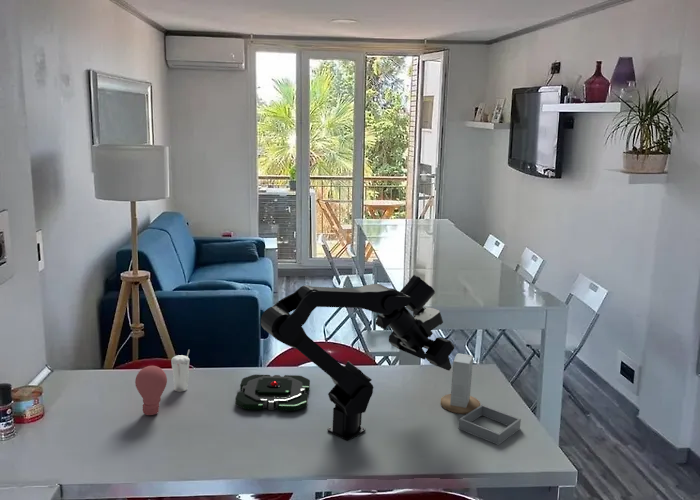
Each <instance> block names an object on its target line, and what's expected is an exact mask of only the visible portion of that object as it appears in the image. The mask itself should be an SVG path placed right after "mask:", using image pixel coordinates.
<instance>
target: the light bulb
mask: <svg viewBox="0 0 700 500" xmlns="http://www.w3.org/2000/svg"><path fill="white" fill-rule="evenodd" d="M134 383H135V388H136V389H137V391H138V393H139V395H140V396H141V397H142V413H143V414H144V415H146V416H152V415H153V416H154V415H157V414H158V413H159V411H160V410H159V409H160V402H161V399H162V398H161V397H162V395H163V393H164V391H165V389H166V387H167V384H168V378H167V374H166V372H165V371H164V370H163V369H162V367H159V366H156V365H148V366H145V367H143V368H142V369H140V370H139V371H138V373H137V375H136V377H135V381H134Z"/></svg>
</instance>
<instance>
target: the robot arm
mask: <svg viewBox="0 0 700 500" xmlns="http://www.w3.org/2000/svg"><path fill="white" fill-rule="evenodd" d="M435 294H436V291H435V289H434V288H433V286H431V285H429V284H428V283H427V282H425V281H424V280H422V278H420V276H419V275H416V274H413V275H412V276H411V277H410V278H409V280H408V282H406V284H405V285H404V287H402V289H401V290H400V291H399V290H397V289H395V288H390V287H386V286H384V285H383V284H380V283H370V284H365V285H363V286H360V287H357V288H356V287H353V288H352V287H331V286H330V287H329V286H311V285H308V284H307V285H302V286H299V288H297V289H296V291H294V292H293V293H291V294H288V295H286V296H285V297H284V298H281V299H280V300H278V301H277V302H276V303H275V304H274V305H272V306H270V307H267V309H265V310H264V311H263V313H262V315H261V318H260V325H261V327H262V328H263V330H264V331H266V332H267V333H268V334H269V335H270V336H271V337H273V338H274V339H275V340H276V341H279V342H280V343H282V344H284V345H286V346H289V347H290V348H294V349H295V350H297V351H299V353H301V354H303V356H305V357H306V358H307V359H308V360H310V361H311V363H313V364H314V365H316V366H317V367H318V368H320V369H321V370H322V371H323V372H324V373H325V374H326V375H328V376H329V377H330V379H331V380H332V382H333V383H334V386H333V387H332V388H331V389H330V391H329V392H328V393H327V395H328V398H329V401H330V402H331V403H333V404H334V407H333V409H332V410H333V411H332V425H331V426H330V427H327V431H328V432H329V433H332V434H333V435H336V436H337V437H339V438H341V439H343V440H345V441H350V440H351V439H354V438H356V437H357V436H359V435H361V434H363V433H365V432H366V428H365V427H363V426H361V425H362V419H363V418H362V414H363V413H366V411H367V408H368V407H369V402H370V400H371V398H372V396H373V394H374V393H373V392H374V388H375V387H374V385H373V384H372V382H371V381H372V378H370V377H369V376H367V375H366V374H365V373H363V371H362V370H361V369H360V368H359V367H357V366H355V365H354V364H352V363H351V362H350V361H347V362H346V364H345V365H344V364H341V362H339V361H338V360H336V359H335V358H334V357H333V356H332V355H331V354H329V352H327V351H326V350H324V348H322V347H321V346H320V345H319V344H318V343H316V342H315V341H314V340H313V339H312V338H310V337H309V336H308V334H307V333H306V332H305V329H304V327H303V326H304V324H305V323H307V321H308V319H309V317H310V315H311V314H312V312H313V311H314V310H315V309H316V308H347V309H348V308H350V309H351V308H352V309H363V310H366V311H370V312H373V313H376V314H377V315H376V320H375V326H377V327H378V328H379V327H380V328H381V329H383V330H386V329H387V328H388V327H389V328H390V329H391V330H392V332H391V333H390V334H389V335H388V343H390V345H391V346H392V347H395V348H396V349H398V350H400V351H403V352H405V353H408V354H409V355H412V356H413V357H414V356H415V357H416V358H419V359H421V360H427V361H428V362H429V364H431V365H433V366H436V367H439V368H441V369H443V370H445V371H451V369H452V364H451V361H450V355H451V353H452V352H453V351H454V350H455V345H454V343H453V342H452V341H451V340H449V339H447V338H445V337H442V336H440V337H436V338H435V339H434V340H433V339H430V337H432V335H433V330H434V329H436V328H437V327H439V326H441V325H443V323H444V320H443V316H442V314H441V312H440V310H439V309H436V308H433V307H427V306H425V305H426V304H427V303H428V302H429V300H431V298H432V297H433V296H434V295H435ZM424 306H425V307H424ZM410 311H411V312H412V313H410ZM291 312H292V313H291ZM424 349H425V350H426V351H425V350H424Z"/></svg>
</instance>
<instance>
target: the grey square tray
mask: <svg viewBox="0 0 700 500" xmlns="http://www.w3.org/2000/svg"><path fill="white" fill-rule="evenodd" d="M481 416H483V417H485V418H488V419H490V420H493V421H495V422H499V423H500V424H503V425H505V426H507V427H505V428H503V429H502V430H500V431H498V432H496V431H494V430H491V429H489V428H486V427H484V426H481V425H478V424H476V423H474V422H475V420H477V419H478V418H480V417H481ZM521 422H522V419H521V418H519V417H516V416H513V415H511V414H508V413H506V412H502V411H500V410H497V409H495V408H492V407H489V406H486V405H484V404H480V406H479V407H477V408H476V409H474V410H472V411H471V412H469V413H468V414H463V416H462V417H460V418H458V428H457V429H459V430H461V431H463V432H466V433H469V434H471V435H473V436H475V437H478V438H481V439H484V440H486V441H488V442H490V443H493V444H494V445H495V444H496V445H497V446H499V445H500V444H501V443H503V442H504V441H506V440H507V439H508V438H509V437H511V436H512V435H514V434H515V433H516V432H518V431H519V430H520V429H521Z"/></svg>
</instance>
